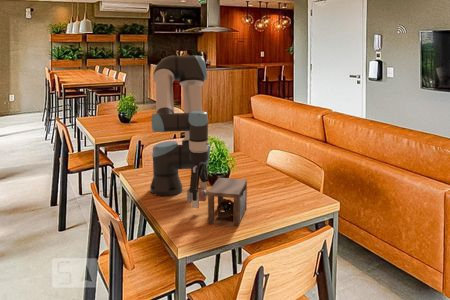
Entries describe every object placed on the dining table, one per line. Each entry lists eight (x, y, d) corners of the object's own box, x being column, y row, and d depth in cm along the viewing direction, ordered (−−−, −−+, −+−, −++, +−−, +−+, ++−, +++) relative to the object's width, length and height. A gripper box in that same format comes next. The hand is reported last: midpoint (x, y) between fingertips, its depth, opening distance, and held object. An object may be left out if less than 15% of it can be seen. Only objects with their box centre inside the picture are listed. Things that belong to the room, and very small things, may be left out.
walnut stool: (208, 224, 164) (207, 192, 160) (218, 206, 181) (218, 177, 177) (238, 226, 161) (238, 194, 158) (246, 209, 178) (246, 179, 175)
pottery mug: (246, 219, 169) (239, 206, 164) (225, 231, 168) (218, 218, 163) (234, 202, 179) (228, 189, 174) (215, 214, 177) (208, 201, 172)
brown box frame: (186, 216, 168) (185, 192, 166) (194, 205, 180) (194, 183, 177) (240, 221, 164) (240, 197, 161) (245, 209, 175) (245, 186, 173)
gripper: (199, 158, 155) (200, 213, 160) (215, 144, 177) (215, 192, 183) (180, 157, 156) (181, 212, 162) (198, 143, 179) (198, 191, 184)
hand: (199, 202), depth 172 cm, fingers open, 11 cm apart
